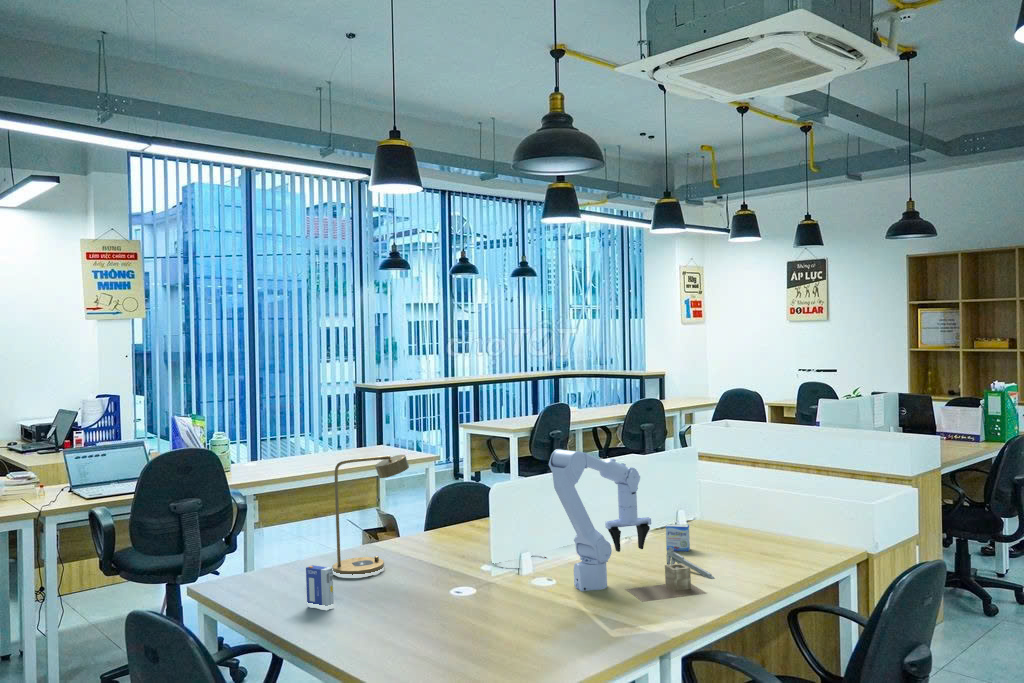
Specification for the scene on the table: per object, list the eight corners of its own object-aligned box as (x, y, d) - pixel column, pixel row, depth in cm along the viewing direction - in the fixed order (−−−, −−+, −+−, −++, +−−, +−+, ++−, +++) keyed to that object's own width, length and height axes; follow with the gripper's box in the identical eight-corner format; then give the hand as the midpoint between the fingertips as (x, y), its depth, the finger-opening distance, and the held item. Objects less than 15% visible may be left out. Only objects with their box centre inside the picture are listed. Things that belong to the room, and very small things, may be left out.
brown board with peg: (642, 607, 213) (641, 580, 213) (625, 594, 225) (624, 568, 225) (707, 598, 219) (706, 572, 219) (687, 586, 230) (686, 561, 230)
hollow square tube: (674, 590, 222) (673, 570, 222) (665, 585, 227) (664, 565, 227) (691, 588, 223) (690, 567, 223) (682, 583, 228) (681, 563, 228)
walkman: (307, 607, 224) (305, 566, 224) (313, 605, 226) (312, 563, 226) (327, 611, 220) (325, 569, 220) (334, 608, 222) (332, 566, 222)
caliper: (666, 565, 254) (665, 546, 254) (669, 565, 255) (668, 545, 255) (712, 579, 237) (711, 559, 237) (714, 579, 237) (714, 558, 237)
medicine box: (666, 550, 271) (665, 526, 271) (667, 547, 275) (666, 523, 276) (689, 551, 269) (688, 526, 269) (690, 548, 273) (689, 524, 273)
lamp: (418, 570, 259) (414, 456, 259) (337, 582, 248) (333, 463, 249) (405, 558, 275) (401, 451, 275) (328, 569, 264) (324, 458, 265)
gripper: (610, 510, 233) (612, 555, 233) (654, 506, 237) (656, 550, 237) (602, 505, 240) (603, 549, 240) (645, 501, 244) (646, 545, 243)
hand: (629, 549), depth 239 cm, fingers open, 7 cm apart
